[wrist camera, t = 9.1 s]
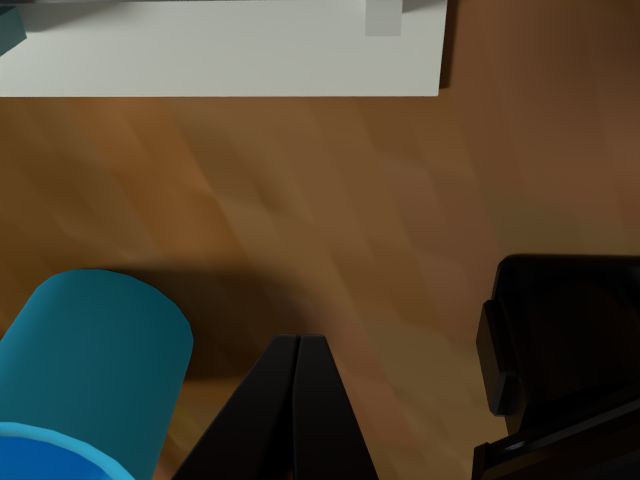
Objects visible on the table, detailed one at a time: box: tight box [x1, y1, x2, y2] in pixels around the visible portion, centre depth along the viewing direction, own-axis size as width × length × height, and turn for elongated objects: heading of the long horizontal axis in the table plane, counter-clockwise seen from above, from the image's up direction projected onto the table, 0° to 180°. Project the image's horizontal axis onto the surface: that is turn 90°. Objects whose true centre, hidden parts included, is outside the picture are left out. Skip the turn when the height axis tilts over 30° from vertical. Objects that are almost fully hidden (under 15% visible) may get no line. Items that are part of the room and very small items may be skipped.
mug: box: [0, 269, 194, 480], centre depth 26 cm, size 12×8×8 cm
